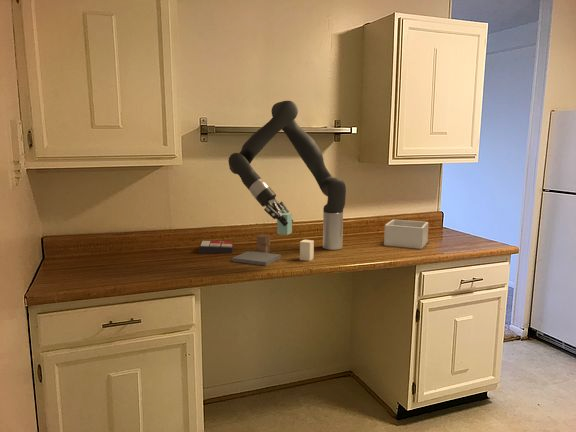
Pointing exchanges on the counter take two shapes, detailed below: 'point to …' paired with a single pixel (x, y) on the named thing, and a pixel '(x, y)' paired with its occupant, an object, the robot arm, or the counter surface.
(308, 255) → the cream block
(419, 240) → the box
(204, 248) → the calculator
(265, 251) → the walnut block
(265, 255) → the grey flat slab
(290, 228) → the teal block
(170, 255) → the counter surface
